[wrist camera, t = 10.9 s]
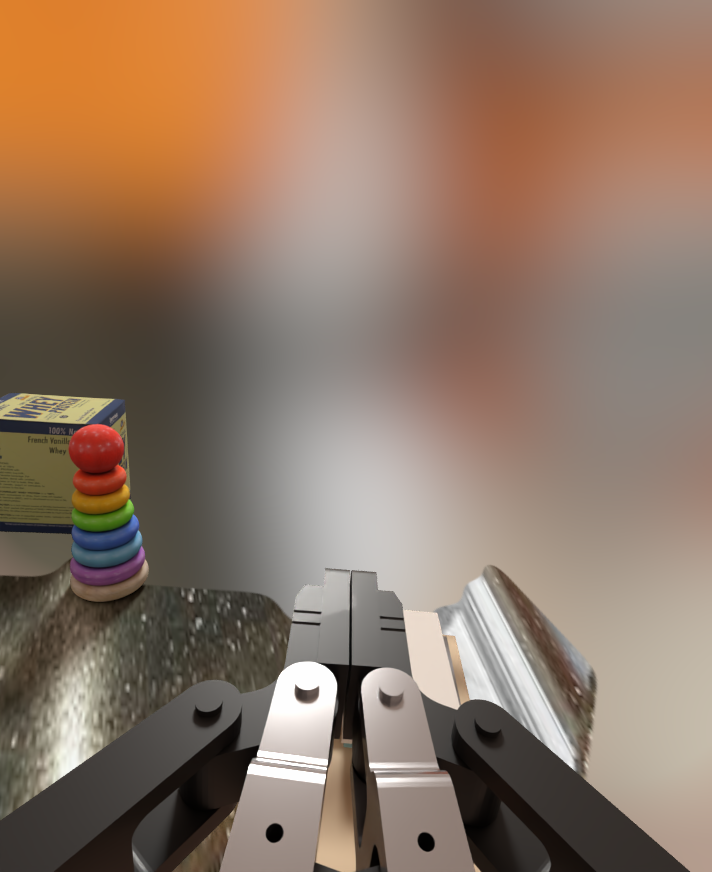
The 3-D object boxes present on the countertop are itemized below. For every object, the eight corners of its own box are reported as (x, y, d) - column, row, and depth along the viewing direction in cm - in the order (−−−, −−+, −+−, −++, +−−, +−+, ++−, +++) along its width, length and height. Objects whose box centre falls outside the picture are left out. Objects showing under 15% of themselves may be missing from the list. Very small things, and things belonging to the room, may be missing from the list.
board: (509, 896, 32) (517, 874, 31) (292, 878, 32) (294, 855, 31) (453, 643, 53) (456, 626, 52) (321, 631, 52) (322, 614, 52)
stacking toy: (159, 564, 60) (152, 418, 54) (131, 608, 53) (119, 445, 46) (93, 558, 60) (78, 411, 54) (56, 602, 53) (33, 437, 46)
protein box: (108, 535, 65) (98, 423, 60) (-22, 532, 63) (-44, 415, 57) (133, 498, 75) (126, 398, 69) (21, 494, 73) (5, 391, 67)
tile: (464, 727, 37) (437, 612, 50) (344, 716, 37) (348, 604, 50) (458, 759, 38) (433, 638, 51) (340, 749, 38) (345, 630, 51)
